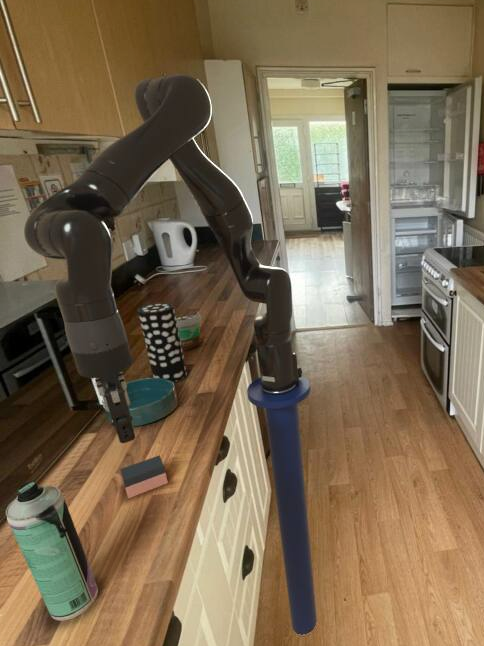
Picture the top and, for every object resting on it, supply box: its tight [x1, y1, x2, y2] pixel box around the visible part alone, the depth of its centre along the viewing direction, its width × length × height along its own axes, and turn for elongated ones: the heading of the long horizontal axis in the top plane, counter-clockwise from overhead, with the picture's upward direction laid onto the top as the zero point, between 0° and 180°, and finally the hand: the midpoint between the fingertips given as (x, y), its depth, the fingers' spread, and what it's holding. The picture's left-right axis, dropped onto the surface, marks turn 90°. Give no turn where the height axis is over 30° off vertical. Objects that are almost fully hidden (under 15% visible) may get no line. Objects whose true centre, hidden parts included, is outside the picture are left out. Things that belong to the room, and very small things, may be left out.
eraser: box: [120, 455, 169, 499], centre depth 78 cm, size 6×4×4 cm, turn 127°
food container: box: [176, 310, 202, 351], centre depth 134 cm, size 12×6×10 cm, turn 132°
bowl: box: [101, 377, 179, 428], centre depth 101 cm, size 15×15×5 cm
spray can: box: [5, 480, 99, 622], centre depth 54 cm, size 6×6×20 cm
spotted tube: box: [137, 302, 188, 383], centre depth 114 cm, size 8×8×20 cm
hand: (124, 428), depth 73 cm, fingers open, 8 cm apart
